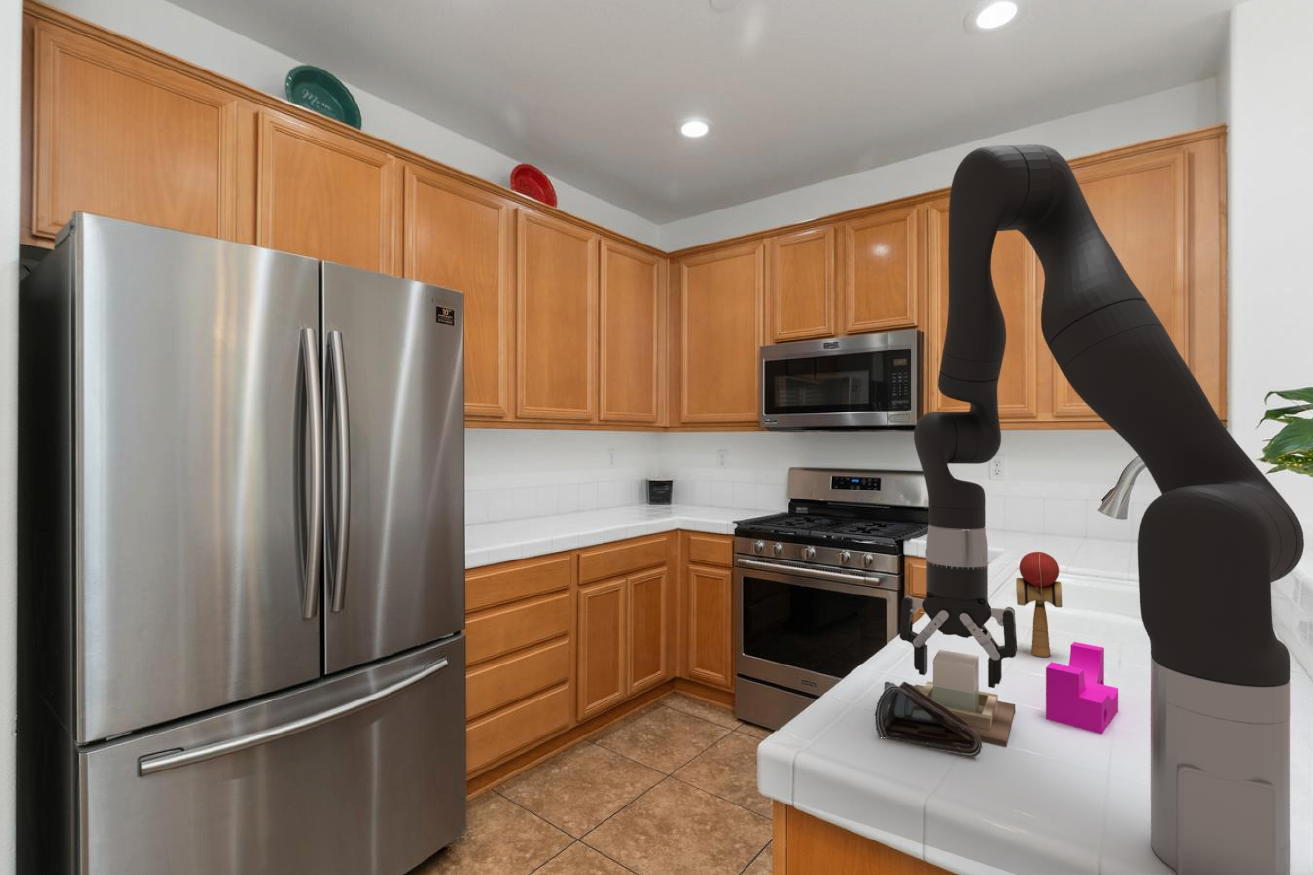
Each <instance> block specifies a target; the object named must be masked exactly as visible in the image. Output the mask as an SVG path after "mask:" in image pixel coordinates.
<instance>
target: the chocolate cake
mask: <svg viewBox="0 0 1313 875" xmlns="http://www.w3.org/2000/svg"><path fill="white" fill-rule="evenodd" d="M883 687H884V691H883V692H882V694H881V695H880V698H879V699H878V702H877V703H876V704H877V705H876V709H875V713H874V720H875V721H874V722H875V730H876V733H877V735H878V737H879V739H880V738H881V737H882V739H885V738H884V737H888V738H887V739H891V738H892V739H891V740H896V741H899V742H904V743H907V744H911V745H914V746H915V745H916V746H920V747H923V748H926V749H930V750H935V751H937V752H942V753H946V754H950V755H954V756H957V757H964V758H974V757H978V756H979V755H980V754H981V750H982V749H983V742H982V741H981V739H980V737H979V735H978V734H977V733H976V732H975V731H974V730H972V729H971V728H970V727H969V725H968V724H967V722H965V721H964V720H963V719H962V718H960V717H959V716H957V715H956V714H955V713H953V712H951V711H950V710H949V709H947V708H946V707H945V705H944V704H943V703H942V702H940V701H938V702H935V701H934V700H933V699H931V698H930V697H928V696H926V695H924V694H923V693H922V692H921V691H920V690H919V688H918V687H917V686H915V685H913V684H911V683H908V682H906V681H902V682H901V684H900V685H899V686H898V685H896V684H895V683H893V682H891V681H885V682H884V686H883Z"/></svg>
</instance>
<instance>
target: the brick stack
mask: <svg viewBox="0 0 1313 875" xmlns="http://www.w3.org/2000/svg"><path fill="white" fill-rule="evenodd" d="M979 658H980V656H979V655H976V654H975V655H974V654H968V653H964V652H963V653H961V652H958V651H957V652H955V651H951V650H943V649H938V651H937V652H936V654H935V655H934V658H933V659H932V682H933V700H934V701H935V702H938V701H940V702H942V703H943V704H944V705H945V706H946V707H951V708H956V709H960V710H965V711H970V712H975V713H977V711H978V708H979V691H980V690H979V689H980V688H979V687H980V682H979V681H980V680H979V679H980V673H979V672H980V662H979V660H980V659H979Z"/></svg>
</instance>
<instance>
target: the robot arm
mask: <svg viewBox="0 0 1313 875" xmlns="http://www.w3.org/2000/svg"><path fill="white" fill-rule="evenodd" d="M950 187H951V188H950V193H949V194H950V195H949V202H948V203H949V204H948V206H949V207H948V253H947V254H948V256H947V258H948V262H947V263H948V266H947V267H948V305H947V306H948V308H947V323H946V331H945V338H944V342H943V343H944V344H943V350H942V354H941V361H940V367H939V372H938V373H939V374H938V379H937V388H938V390H939V392H940V393H941V394H942V395H943V396H945V397H947V398H949V399H951V400H956V401H960V402H963V403H969V405H970V406H969V407H970V408H969V411H931V412H927V413H925V414H924V415H922V416H921V417H920V418H919V420H918V421H917V423H916V425H915V428H914V434H913V440H914V441H913V442H914V447H915V449H916V452H917V456H918V459H919V462H920V466H921V469H922V472H923V477H924V481H925V486H926V492H927V500H928V501H927V502H928V526H927V534H926V535H927V536H926V540H925V541H926V544H925V545H926V548H925V558H926V561H925V562H926V563H925V564H926V568H925V570H926V572H925V573H926V577H925V580H926V586H925V588H926V595H925V598H924V599H923V598H919V597H914V595H912V594H907V595H905V596H904V597H903V598H902V599H901V603H900V619H899V620H900V622H899V624H900V625H899V639H900V640H902V641H904V642H905V641H906V642H908V643H910V644H911V645H912V646H913V666H914V668H915V670H916V671H917V670H918V675H920V676H925V675H926V674H927V672H928V644H926V642H927V641H928V640H929V638H931V637H932V636H933V635H934V634H935V633H936V632H937V630H938V632H940V633H942V635H946V636H958V637H961V638H966V639H969V638H970V637H973V638H974V639H975V640H976V642H977V643H978V644H979V646H981V647H982V648H983V650H984V651H985V652H986V654H987V655H988V659H987V672H988V674H987V676H988V677H987V687H988V688H990V689H991V688H992V689H995V688H996V685H1000V683H1001V681H1002V676H1003V675H1002V672H1003V671H1002V667H1003V666H1002V665H1003V664H1002V662H1003V661H1002V660H1003V659H1007V658H1010V659H1013V658H1015V657H1016V655H1017V651H1018V640H1017V639H1018V638H1017V637H1018V635H1017V624H1016V622H1017V621H1016V611H1015V609H1014V608H1013V607H1011V606H1007V607H1005V608H995V607H991V605H990V603H989V600H988V599H989V598H988V596H989V594H988V592H989V591H988V590H989V588H988V585H989V584H988V581H989V580H988V578H989V577H988V575H989V574H988V573H989V571H988V570H989V567H988V563H989V561H988V557H989V556H988V555H989V554H988V552H989V549H988V545H989V544H988V538H987V529H986V523H987V521H986V519H987V518H986V515H987V514H986V509H987V508H986V502H987V501H986V500H987V499H986V491H985V488H984V487H983V486H982V485H980V484H979V483H976V482H972V481H967V480H962V479H958V478H955V477H954V476H953V473H951V471H950V469H949V466H948V465H949V464H954V465H956V464H957V465H958V464H959V465H962V464H967V465H968V464H969V465H970V464H971V465H974V464H975V465H976V464H977V465H978V464H979V465H980V464H986V463H987V462H989V461H990V460H992V459H993V458H995V456H996V455H997V454H998V452H999V450H1000V447H1001V445H1002V434H1001V433H1002V432H1001V426H1000V425H1001V424H1000V418H999V403H998V402H999V400H998V385H999V384H998V383H999V379H1000V374H1001V369H1002V365H1003V361H1004V360H1003V359H1004V356H1005V351H1006V346H1007V345H1006V344H1007V328H1006V320H1005V316H1004V314H1003V311H1002V307H1001V305H1000V301H999V300H998V296H997V293H996V289H995V285H994V282H993V277H992V267H991V266H992V264H991V263H992V254H993V248H994V243H995V241H996V237H997V232H1005V231H1018V232H1020V233H1021V234H1022V235H1023V236H1024V237H1025V238H1026V240H1027V241H1028V243H1029V244H1030V245H1031V247H1032V249H1033V251H1034V252H1035V254H1036V256H1037V258H1038V260H1039V261H1040V264H1041V267H1042V269H1043V273H1044V275H1043V276H1044V283H1043V284H1044V285H1043V286H1044V287H1043V292H1042V302H1041V311H1040V312H1041V313H1040V325H1041V333H1042V335H1043V339H1044V342H1045V344H1046V345H1047V347H1048V349H1049V351H1050V352H1051V355H1052V356H1053V358H1054V360H1055V362H1056V363H1057V365H1058V367H1059V369H1060V370H1061V372H1062V374H1063V376H1064V378H1065V379H1066V381H1067V382H1068V384H1069V385H1070V386H1071V388H1072V389H1073V391H1074V392H1075V393H1076V394H1077V396H1079V397H1080V399H1081V400H1082V401H1083V402H1084V403H1085V404H1086V406H1088V407H1089V408H1090V409H1091V410H1092V411H1093V412H1094V413H1095V414H1096V415H1097V416H1099V418H1100V419H1102V420H1103V421H1104V422H1105V424H1107V425H1108V426H1109V427H1111V429H1112V430H1113V431H1115V433H1116V434H1118V435H1119V436H1120V437H1121V438H1122V439H1123V440H1124V441H1125V442H1126V443H1127V444H1128V445H1129V446H1130V447H1131V448H1132V449H1133V450H1134V452H1136V454H1137V455H1138V457H1139V458H1140V459H1141V461H1142V462H1143V464H1144V465H1145V467H1146V469H1147V470H1148V472H1149V473H1150V475H1151V476H1152V479H1153V481H1154V482H1155V484H1156V486H1157V488H1158V489H1159V492H1160V495H1159V496H1158V497H1156V498H1155V499H1154V500H1153V501H1152V502H1151V503H1149V505H1148V507H1146V509H1145V511H1144V513H1143V516H1142V518H1141V519H1140V520H1141V521H1140V524H1139V528H1138V535H1137V567H1138V568H1137V571H1138V588H1139V589H1138V590H1139V608H1140V616H1141V621H1142V624H1143V627H1144V629H1145V632H1146V633H1147V636H1148V637H1149V642H1150V844H1151V849H1152V850H1153V851H1154V853H1155V855H1157V857H1159V858H1160V860H1161V861H1163V862H1164V863H1165V864H1166V865H1167V866H1169V867H1170V868H1171V869H1173V870H1174V871H1175V873H1176V874H1177V875H1291V653H1290V650H1289V649H1288V647H1287V646H1286V645H1285V643H1283V642H1282V641H1281V640H1279V639H1278V638H1277V635H1276V633H1275V630H1274V625H1273V608H1272V606H1273V605H1272V583H1273V582H1277V581H1278V580H1281V579H1282V578H1284V577H1286V576H1287V575H1289V574H1290V573H1292V571H1293V570H1295V568H1296V567H1297V565H1298V564H1299V562H1300V560H1301V558H1302V556H1303V553H1304V547H1305V546H1304V545H1305V541H1304V531H1303V529H1302V525H1301V523H1300V521H1299V519H1298V517H1297V515H1296V513H1295V512H1294V510H1293V509H1292V508H1291V506H1290V504H1289V503H1288V502H1287V501H1286V500H1285V499H1284V497H1283V496H1282V495H1281V494H1280V492H1278V490H1277V489H1276V488H1275V486H1274V485H1273V484H1272V483H1271V482H1270V481H1269V479H1268V478H1267V477H1266V476H1265V475H1264V474H1263V472H1262V471H1261V470H1260V469H1259V468H1258V467H1257V465H1256V464H1255V463H1254V462H1253V460H1252V459H1251V458H1250V457H1249V456H1248V455H1247V453H1246V452H1245V451H1244V449H1243V448H1242V447H1241V446H1240V445H1239V444H1238V443H1237V442H1236V440H1235V439H1234V437H1233V436H1232V435H1231V433H1230V432H1229V431H1228V429H1227V428H1226V427H1225V425H1224V423H1223V422H1222V420H1220V417H1219V416H1218V414H1217V413H1216V411H1215V409H1214V408H1213V406H1212V405H1211V403H1210V401H1209V400H1208V398H1207V396H1206V394H1205V392H1204V391H1203V389H1202V387H1201V385H1200V384H1199V382H1198V381H1197V379H1196V377H1195V375H1194V374H1193V373H1192V371H1191V369H1190V367H1189V366H1188V365H1187V363H1186V361H1185V360H1184V358H1183V357H1182V355H1181V354H1180V353H1179V350H1178V348H1176V346H1175V344H1174V342H1173V341H1172V339H1171V336H1170V335H1169V333H1168V332H1167V330H1166V328H1165V327H1164V325H1163V324H1162V322H1161V320H1160V319H1159V318H1158V316H1157V314H1156V313H1155V311H1154V309H1153V308H1152V307H1151V305H1150V304H1149V302H1148V301H1147V299H1146V298H1145V297H1144V295H1143V293H1142V292H1141V291H1140V290H1139V289H1138V287H1137V285H1136V284H1135V283H1134V281H1133V280H1132V278H1131V277H1130V275H1129V274H1128V273H1127V271H1126V270H1125V268H1124V265H1123V264H1122V262H1121V261H1120V259H1119V257H1118V256H1117V255H1116V252H1115V251H1114V249H1113V248H1112V246H1111V245H1110V243H1109V241H1108V240H1107V239H1106V237H1105V235H1104V233H1103V232H1102V230H1101V228H1100V226H1099V225H1098V223H1097V221H1096V219H1095V217H1094V214H1093V213H1092V211H1091V208H1090V206H1089V205H1088V202H1087V200H1086V198H1085V196H1084V194H1083V191H1082V189H1081V187H1080V185H1079V183H1078V181H1077V179H1076V176H1075V174H1074V173H1073V170H1072V169H1071V167H1070V165H1069V163H1068V162H1067V160H1066V159H1065V158H1064V156H1062V155H1061V153H1059V151H1057V150H1056V149H1055V148H1052V147H1050V146H1048V145H1044V144H1039V143H1038V144H1035V143H1034V144H1029V143H1028V144H1009V145H1008V144H1007V145H1006V144H1002V145H1001V144H1000V145H997V144H996V145H988V146H981V147H978V148H975V149H974V150H972V151H971V152H968V154H966V156H965V157H963V159H962V160H961V161H960V163H959V165H958V167H957V168H956V171H955V173H954V176H953V179H952V182H951V186H950ZM920 608H923V611H924V612H925V614H926V615H927V616H928V618H929V619H930V621H929V622H928V623H927V624H926V625H925V626H924V627H923V629H922V630H921V631H920V632H919V633H917V632H915V631H914V630H913V629H914V628H913V626H914V614H917V613H918V612H919V609H920ZM991 618H994V619H995V620H996V623H997V625H998V626H1000V627H1003V639H1004V640H1003V641H1004V642H1003V643H1004V645H999V644H998V643H997V641H996V640H995V638H994V637H993V635H992V633H991V631H990V630H989V629H988V628H987V627H986V623H988V621H989V620H990V619H991Z"/></svg>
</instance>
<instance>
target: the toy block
mask: <svg viewBox="0 0 1313 875" xmlns="http://www.w3.org/2000/svg"><path fill="white" fill-rule="evenodd" d="M1069 648H1070V649H1069V650H1070V651H1069V661H1068V665H1066V664H1062V663H1057V662H1053V661H1051V662H1050V663H1048V665H1046V666H1045V720H1048V721H1052V722H1056V723H1059V724H1063V725H1067V726H1070V727H1074V728H1076V729H1081V730H1083V731H1084V730H1085V731H1088V732H1090V733H1096V734H1099V735H1103V733H1104V732H1105V730H1106V729H1107V728H1108V726H1110V723H1111V722H1112V721H1113V719H1114V718H1115V717H1116V715H1117V713H1118V712H1119V687H1113V686H1109V685H1105V675H1104V674H1105V655H1104V654H1105V647H1102V646H1098V645H1092V644H1087V643H1081V642H1077V641H1073V642H1072V643H1071V644H1070V647H1069Z"/></svg>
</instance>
